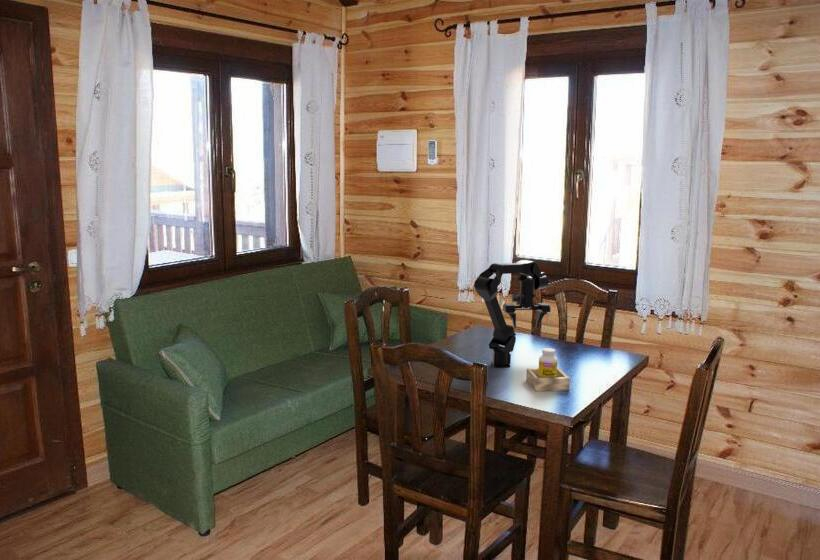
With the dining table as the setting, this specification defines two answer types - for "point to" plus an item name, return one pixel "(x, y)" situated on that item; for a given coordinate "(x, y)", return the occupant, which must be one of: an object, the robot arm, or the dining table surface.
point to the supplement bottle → (547, 364)
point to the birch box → (547, 381)
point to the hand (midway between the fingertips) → (525, 328)
